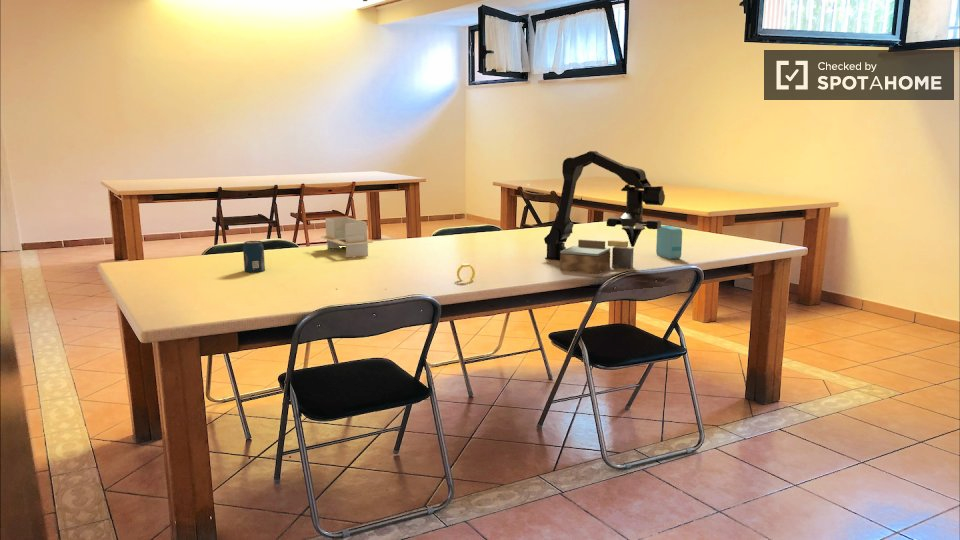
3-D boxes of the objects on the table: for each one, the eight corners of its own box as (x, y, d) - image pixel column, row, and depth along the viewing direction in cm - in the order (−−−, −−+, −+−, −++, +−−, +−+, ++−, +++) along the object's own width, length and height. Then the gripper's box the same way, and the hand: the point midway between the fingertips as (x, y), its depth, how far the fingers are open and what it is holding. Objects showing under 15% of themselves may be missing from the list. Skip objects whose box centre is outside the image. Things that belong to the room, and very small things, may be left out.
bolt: (607, 246, 268) (607, 240, 268) (609, 245, 270) (609, 239, 269) (626, 247, 265) (626, 241, 264) (627, 246, 266) (628, 241, 266)
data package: (681, 259, 283) (682, 228, 281) (670, 259, 282) (672, 229, 280) (665, 254, 295) (667, 225, 292) (655, 254, 294) (656, 225, 291)
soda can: (243, 274, 258) (241, 241, 256) (264, 272, 261) (261, 239, 259) (246, 277, 252) (243, 243, 250) (266, 276, 255) (264, 242, 253)
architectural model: (321, 253, 304) (319, 218, 301) (350, 250, 311) (349, 216, 308) (343, 262, 283) (341, 224, 280) (374, 259, 289) (372, 222, 286)
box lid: (560, 253, 261) (560, 244, 260) (574, 247, 273) (574, 239, 272) (597, 256, 254) (597, 246, 253) (610, 250, 266) (610, 241, 266)
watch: (472, 279, 246) (472, 262, 245) (475, 281, 244) (475, 264, 243) (456, 281, 244) (455, 264, 243) (459, 283, 241) (458, 265, 240)
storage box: (560, 270, 262) (560, 254, 261) (574, 264, 274) (574, 248, 273) (597, 273, 255) (597, 257, 254) (609, 267, 267) (610, 251, 266)
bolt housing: (612, 266, 268) (612, 247, 267) (614, 265, 271) (615, 246, 269) (630, 268, 265) (631, 249, 263) (632, 267, 267) (633, 247, 266)
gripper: (602, 204, 259) (600, 248, 262) (654, 207, 250) (652, 252, 253) (612, 202, 269) (610, 243, 272) (662, 204, 260) (660, 247, 263)
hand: (632, 246), depth 265 cm, fingers closed
